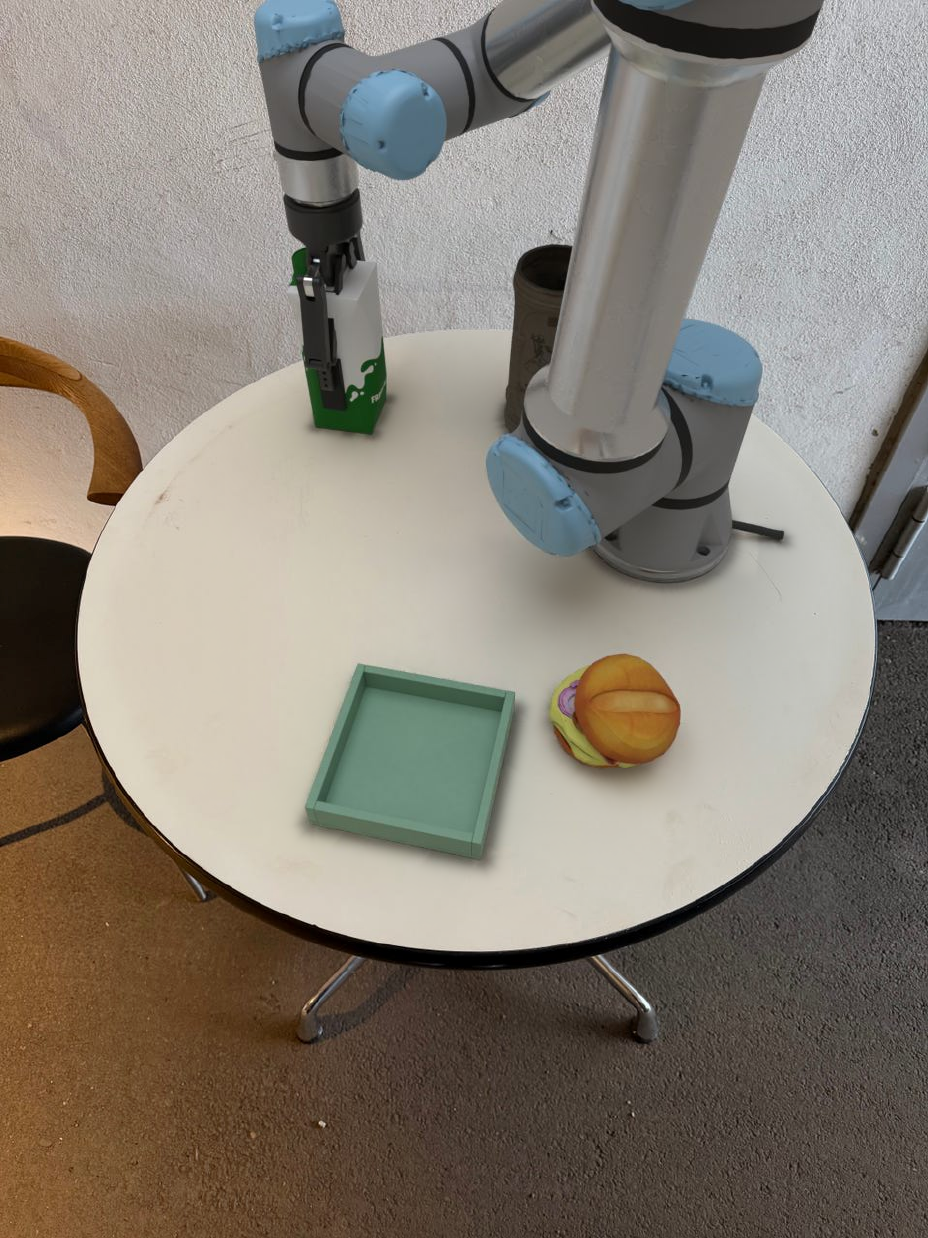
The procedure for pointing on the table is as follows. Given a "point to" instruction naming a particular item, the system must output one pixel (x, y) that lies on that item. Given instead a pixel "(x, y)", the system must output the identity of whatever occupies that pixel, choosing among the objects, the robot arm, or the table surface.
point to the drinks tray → (414, 760)
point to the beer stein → (534, 320)
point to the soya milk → (349, 347)
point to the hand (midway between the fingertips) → (347, 382)
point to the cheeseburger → (615, 713)
